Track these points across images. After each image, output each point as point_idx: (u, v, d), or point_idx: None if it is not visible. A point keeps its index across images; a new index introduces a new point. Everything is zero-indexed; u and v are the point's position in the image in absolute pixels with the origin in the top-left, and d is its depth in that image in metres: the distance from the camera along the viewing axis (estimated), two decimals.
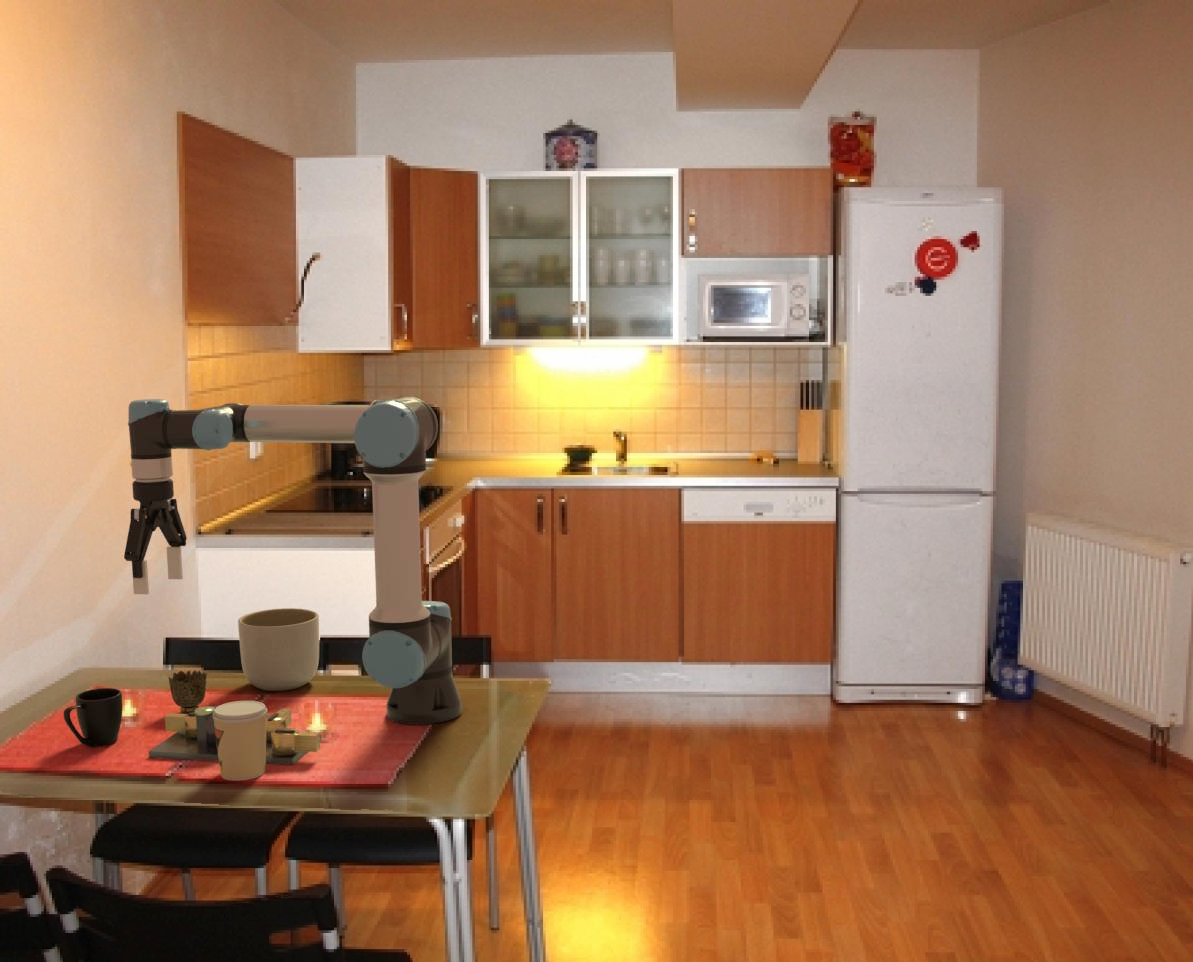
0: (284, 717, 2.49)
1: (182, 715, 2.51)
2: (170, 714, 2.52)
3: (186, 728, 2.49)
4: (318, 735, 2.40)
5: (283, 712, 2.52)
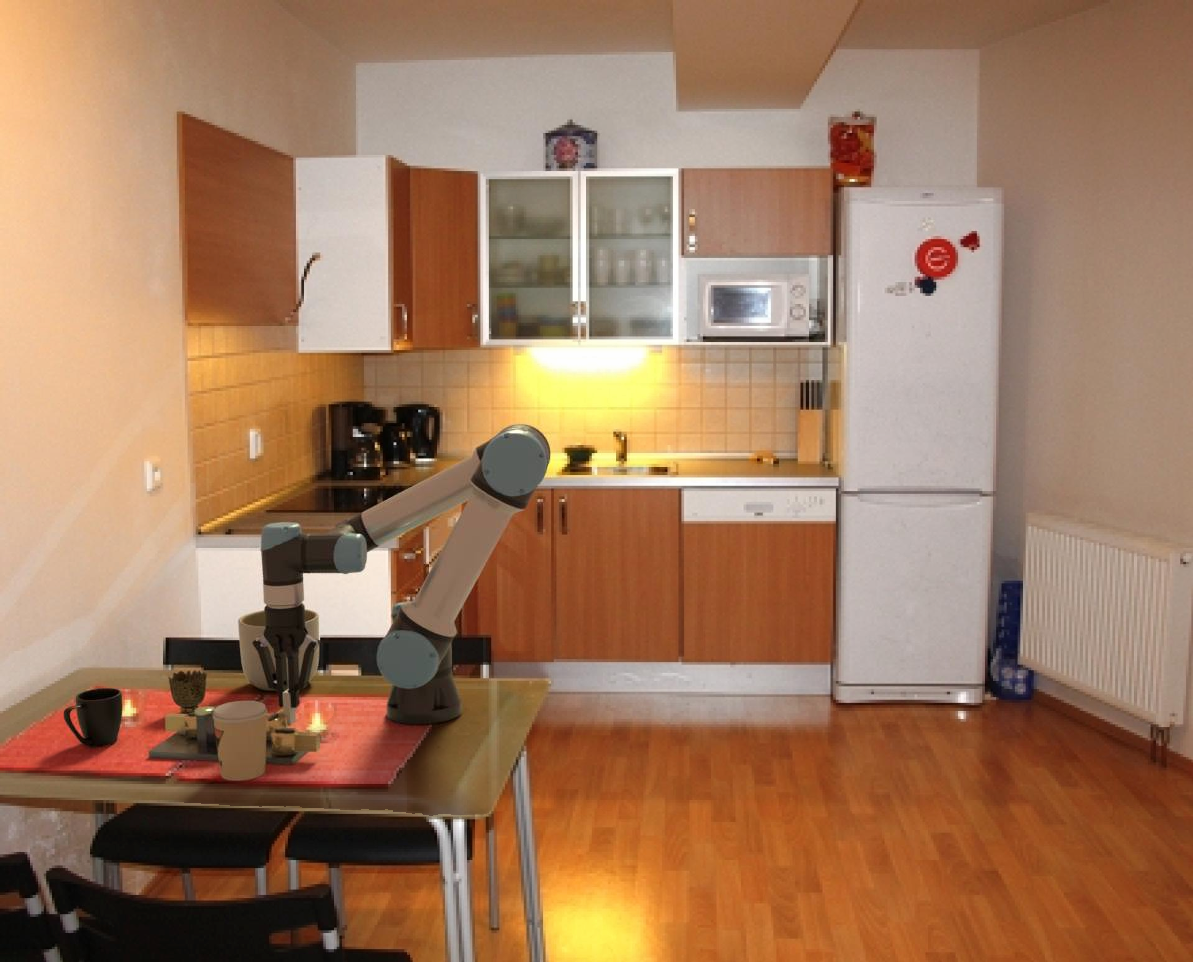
0: (284, 717, 2.49)
1: (182, 715, 2.51)
2: (170, 714, 2.52)
3: (186, 728, 2.49)
4: (318, 735, 2.40)
5: (283, 712, 2.52)
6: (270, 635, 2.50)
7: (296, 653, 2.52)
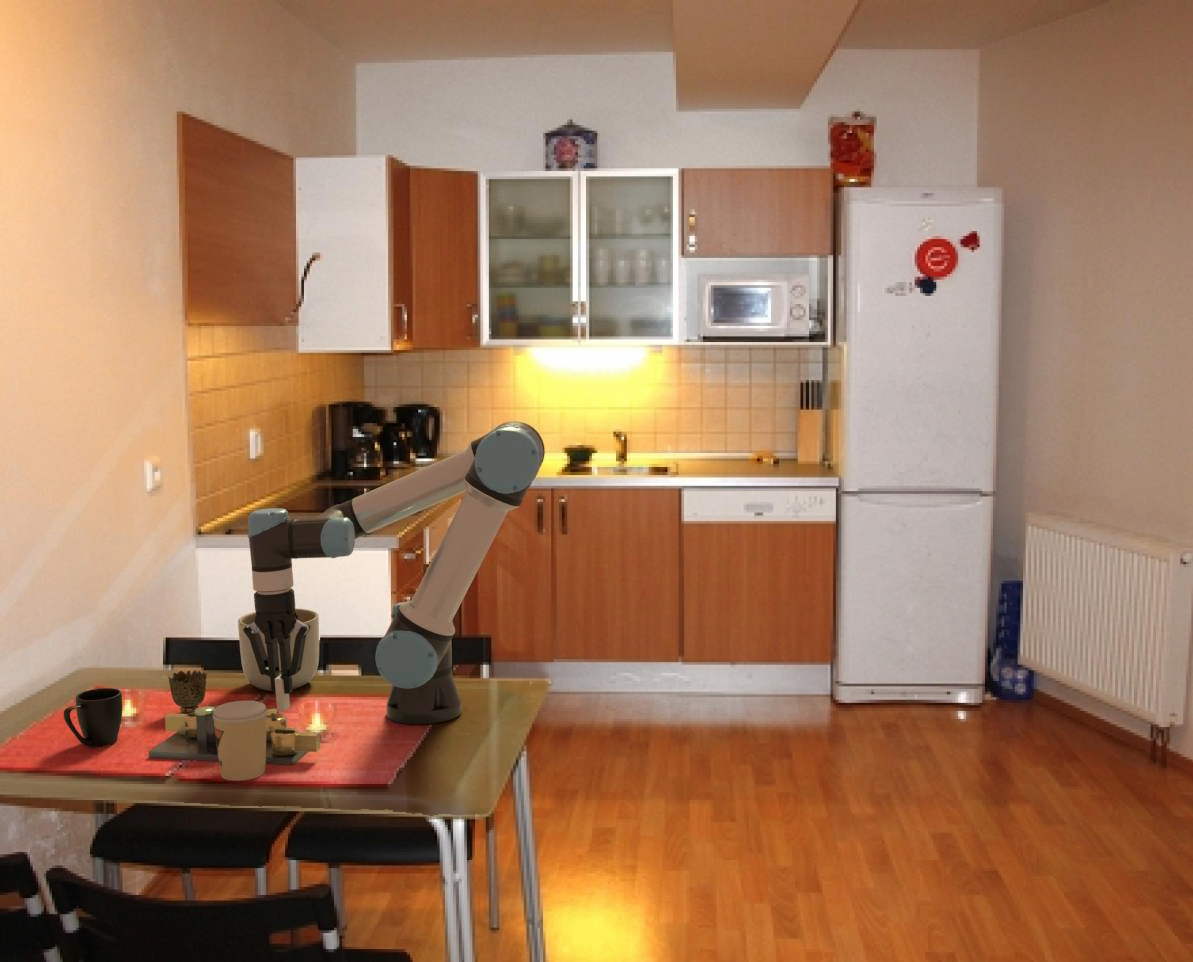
0: (283, 716, 2.50)
1: (182, 715, 2.51)
2: (170, 714, 2.52)
3: (186, 728, 2.49)
4: (318, 735, 2.40)
5: (275, 712, 2.52)
6: (261, 621, 2.50)
7: (288, 639, 2.52)
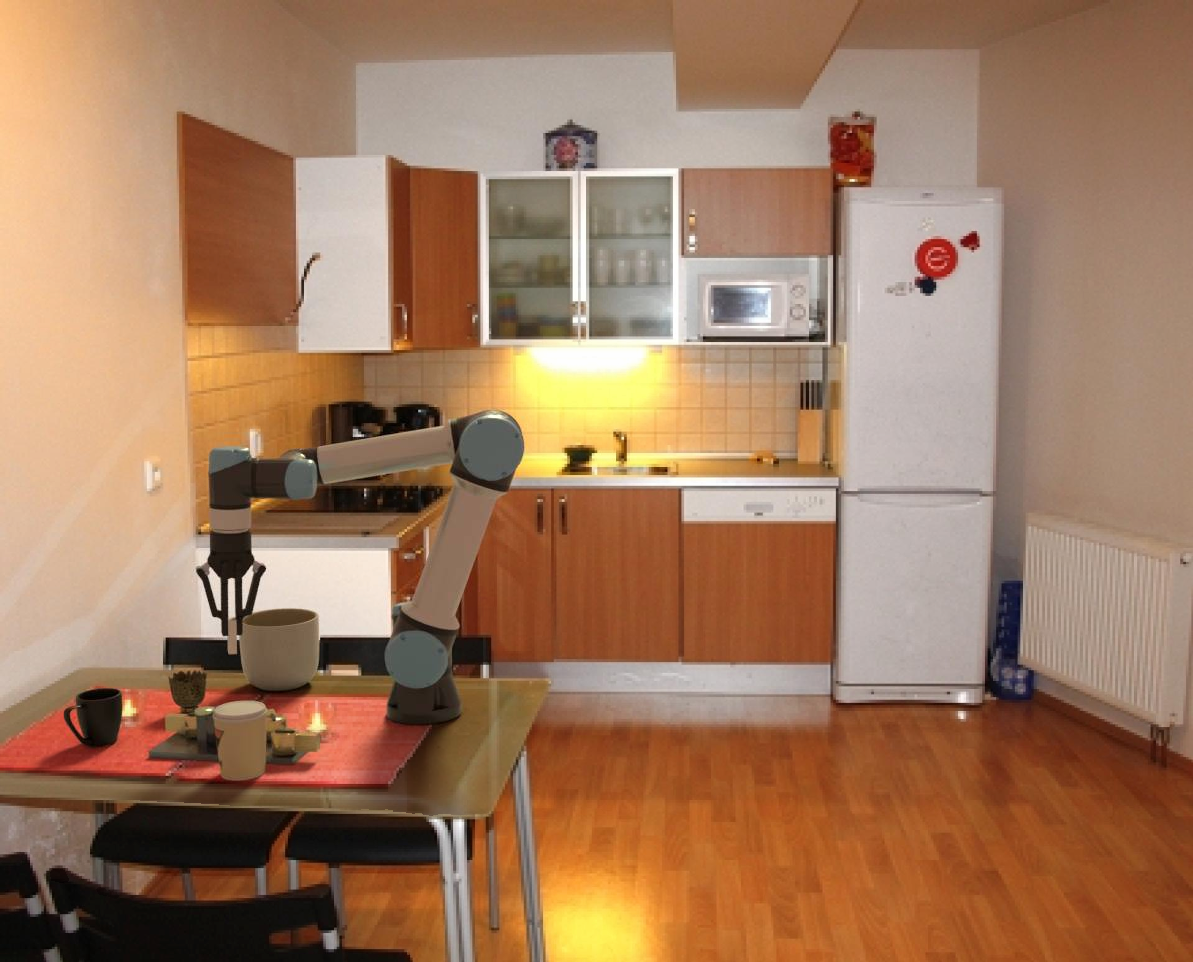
0: (283, 715, 2.50)
1: (182, 715, 2.51)
2: (170, 714, 2.52)
3: (186, 728, 2.49)
4: (318, 735, 2.40)
5: (273, 712, 2.52)
6: (216, 562, 2.44)
7: None
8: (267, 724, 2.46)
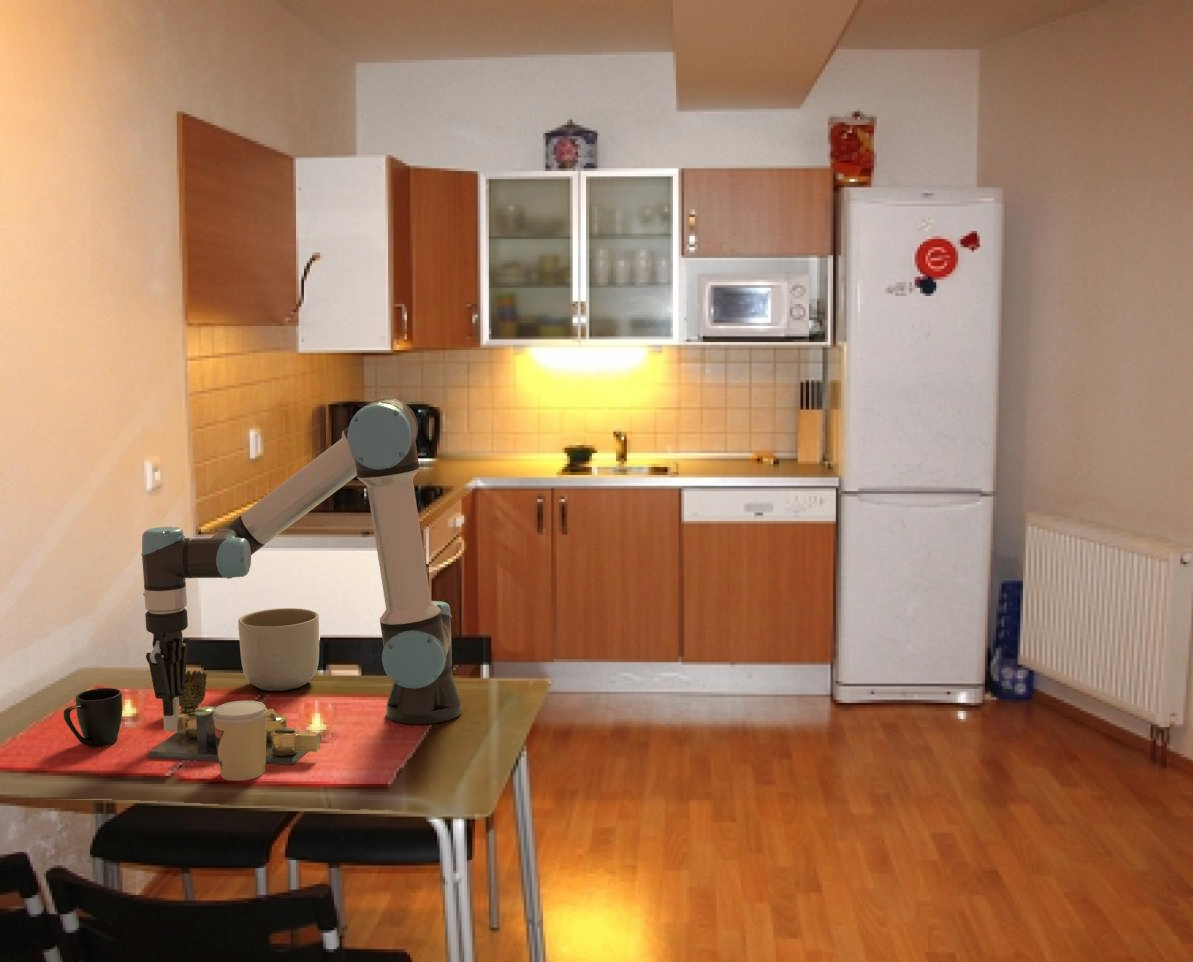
0: (283, 715, 2.50)
1: (182, 715, 2.51)
2: None
3: (186, 728, 2.49)
4: (318, 735, 2.40)
5: (273, 712, 2.52)
6: (166, 643, 2.45)
7: None
8: (267, 724, 2.46)
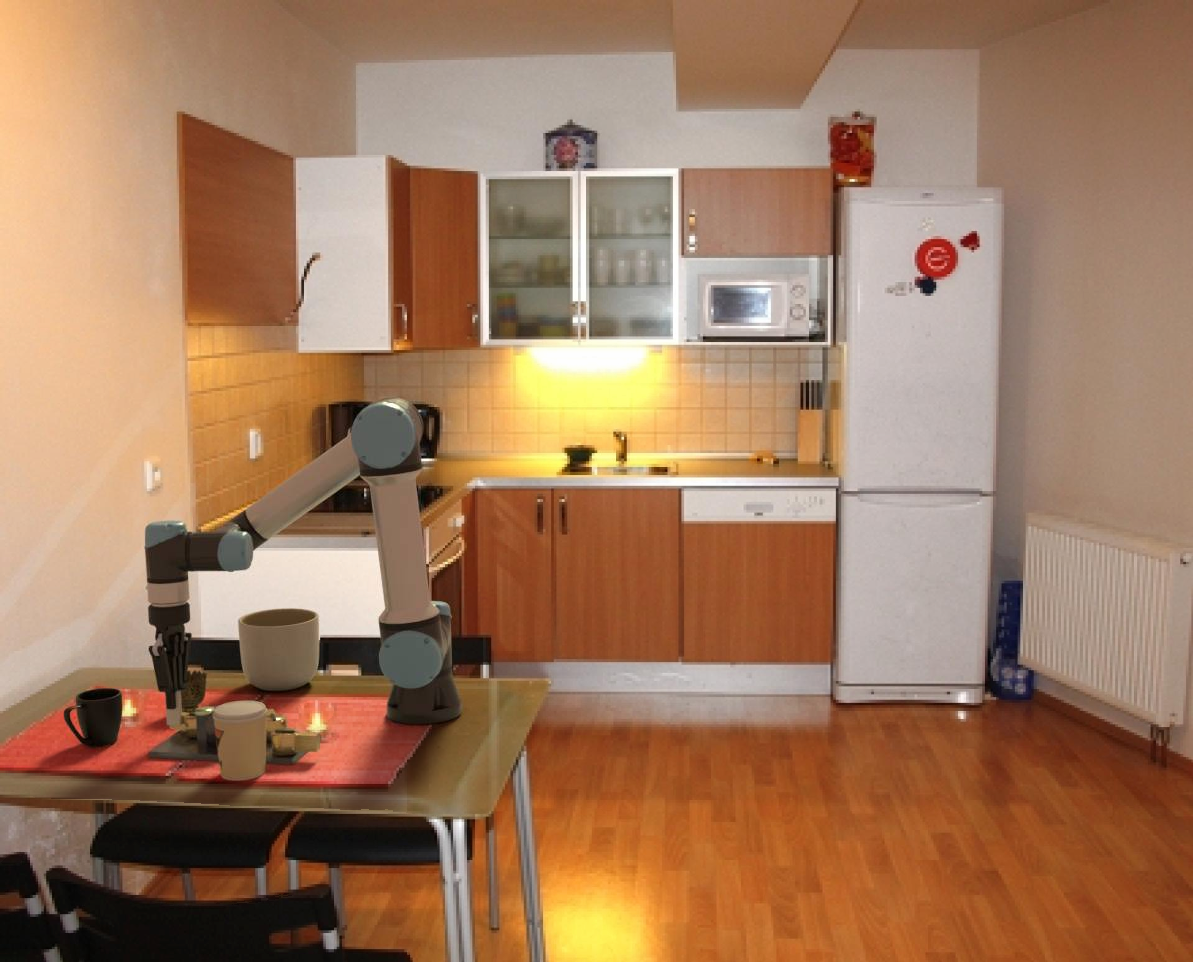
0: (283, 715, 2.50)
1: (184, 714, 2.52)
2: None
3: (185, 727, 2.49)
4: (318, 735, 2.40)
5: (273, 712, 2.52)
6: (169, 636, 2.46)
7: None
8: (267, 724, 2.46)
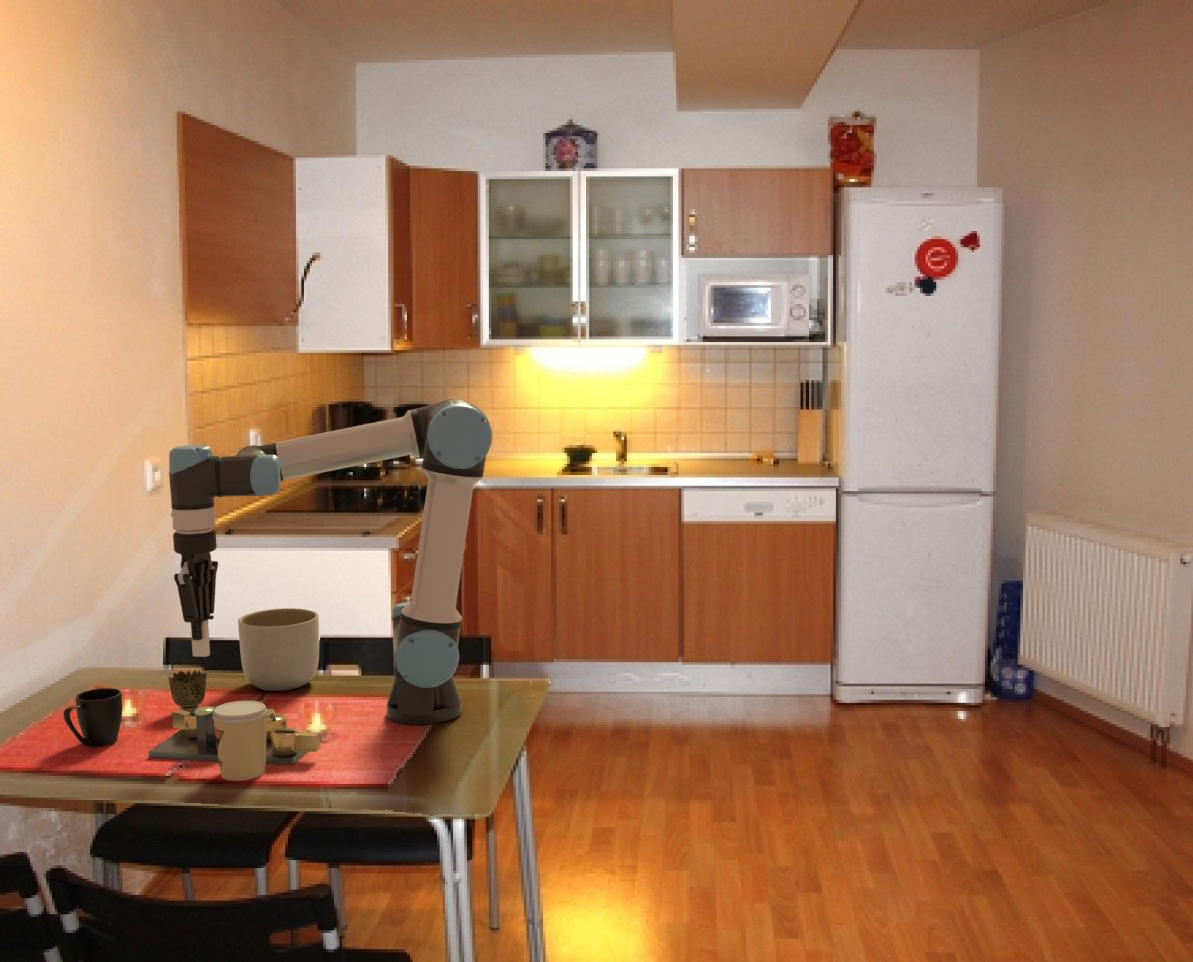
0: (283, 715, 2.50)
1: (186, 713, 2.52)
2: (179, 710, 2.54)
3: (184, 726, 2.50)
4: (318, 735, 2.40)
5: (273, 712, 2.52)
6: (195, 565, 2.38)
7: None
8: (267, 724, 2.46)
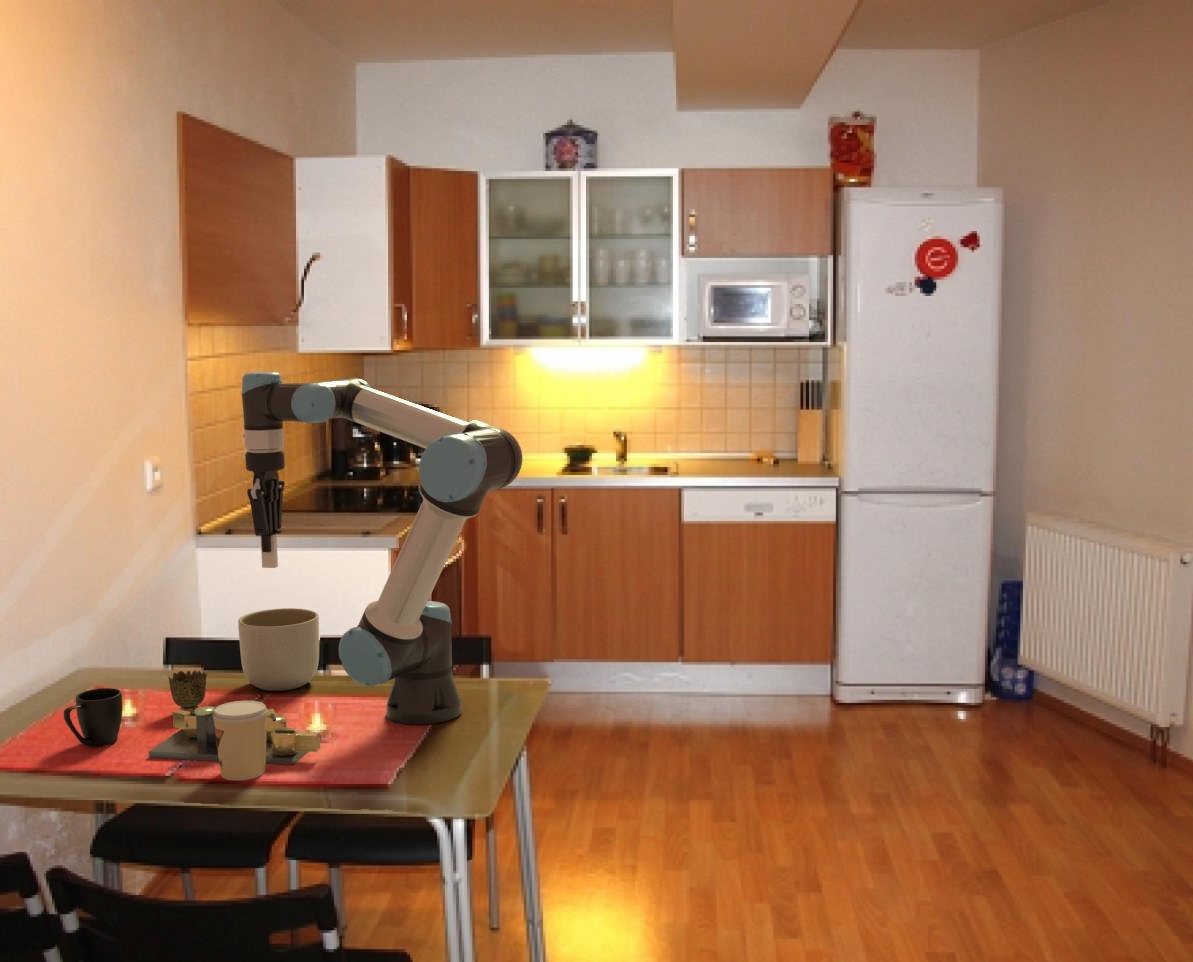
0: (283, 715, 2.50)
1: (187, 713, 2.52)
2: (179, 710, 2.54)
3: (184, 726, 2.50)
4: (318, 735, 2.40)
5: (273, 712, 2.52)
6: (265, 482, 2.58)
7: None
8: (267, 724, 2.46)
